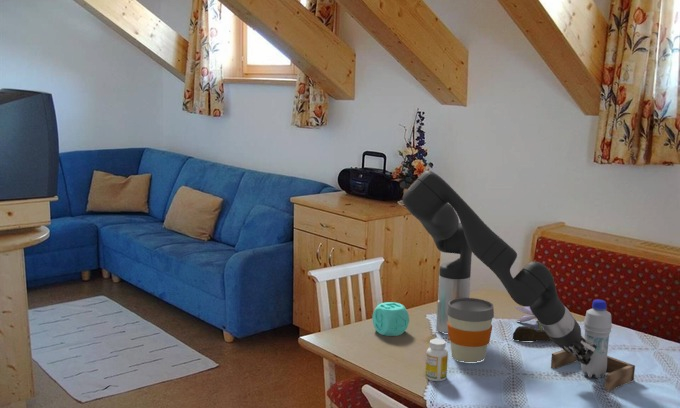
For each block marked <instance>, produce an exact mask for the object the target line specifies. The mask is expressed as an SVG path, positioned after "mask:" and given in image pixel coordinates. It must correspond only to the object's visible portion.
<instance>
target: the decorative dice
mask: <svg viewBox="0 0 680 408" xmlns="http://www.w3.org/2000/svg"><path fill="white" fill-rule="evenodd" d="M371 320H372V324H373V327H374V329H375V330H376V332H377V333H378V334H379V335H382V336H388V337H396V336H400V335H402V334H403V333H405V332H406V330H407V329H408V327H409V323H410V315H409V312H408V310H407V308H406V307H405V305H404V304H401V303H400V302H393V301H391V302H390V301H389V302H388V301H386V302H382V303H379V304H378V305H377V306H376V307H375V308H374V311H373V312H372V319H371Z"/></svg>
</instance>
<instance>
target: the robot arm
mask: <svg viewBox="0 0 680 408" xmlns="http://www.w3.org/2000/svg"><path fill="white" fill-rule="evenodd" d="M402 203H403V205H404V207H405V208H406V210H407V211H408V212H409V213H410V214H411V215H412V216H413V217H415V218H416V219H417V220H418V221H419V223H421V225H422V226H423V228H424V230H425V231H426V232H427V233H428V234H429V235H430V236H431V238H432V239H433V241H434V244H435V247H436V248H437V249H438V251H439V252H441V253H446V254H454V255H455V254H457V255H459V258H457V259H455V260H453V261H448V262H444V263H442V264H441V265H439V271H438V275H439V276H438V296H437V298H438V300H437V302H436V326H435V328H436V329H435V331H441V332H444V333H448V325H447V322H448V321H449V319H448V314H447V308H448V302H449V301H450V300H452V299H457V298H471V296H470V292H471V273H472V272H471V270H472V255H474V256H475V257H476V258H477V259H479V261H480V262H482V263H483V264H484V265H485V266H486V267H487V268H489V269H490V270H491V272H493V274H494V275H496V278H498V279H499V281H500V282H501V284H502V285H503V287H504V288H505V290H506V291H507V293H508V295H509V297H510V298H511V299H512V300H513V301H514V302H515V303H516V304H517V305H519V306H520V307H524V306H525V307H528V306H529V307H530V309H531V311H532V313H533V314H534V315H533V316H535V317H536V318H535V319H537V322H538V321H539V322H540V324H541V327H542V330H544V331H545V332H546V333H547V334H548V336H549V337H550V340H551V341H550V342H552V341H553V344H555V345H556V346H558V347H559V348H561V349H562V350H565V351H566V352H567V353H570V352H571V353H572V354H573V355H574V356H576V357H577V358H578V360H579V361H580V362H579V361H578V362H579V363H580V364H581V363H582V364H585V365H587V364H588V363H589V362H590V360H591V358H590V357H591V356H592V354H593V353H594V351H595V349H596V348H597V346H596V345H594V344H592V345H591V344H587V343H586V340H585V339H584V337H583V336H582V330H581V329H582V328H581V326H580V324H579V323H578V321H577V320H576V318H575V317H574V316H573V314H572V313H571V312H570V310H569V309H568V308H567V307H566V306H565V305H564V303H563V302H562V300H560V297H559V296H558V295H559V294H558V291H557V289H556V288H557V287H556V283H555V278H554V275H553V274H552V272H551V271H550V269H549V268H548V267H547V266H546V265H545V264H544V263H542V262H539V261H529V262H528V263H527V264H526V265H524V267H522V269H520V271H519V272H518V273H517V274H516V275H515V276H514V277H513V276H512V274H511V268H512V266H513V264H514V263H515V261H516V260H517V258H518V254H517V252H516V250H515V249H514V248H513V247H511V245H509V244H508V243H507V242H506V241H504V239H502V238H501V237H500V236H499V235H498V234H496V233H495V232H494V231H493V230H492V229H491V228H490V227H489V226H488V224H486V223H485V222H484V221H483V219H482V218H480V216H479V215H478V214H477V213H476V212H475V211H474V210H473V209H472V208H471V206H469V205H468V203H467V202H466V201H465V200H464V199H463V198H462V197H461V196H460V195H459V194H458V193H457V191H456V190H454V189H453V188H452V187H451V185H450V184H449V183H447V182H446V181H445V180H444V179H443V177H441V176H439V175H438V174H437V173H435V172H434V171H431V170H424V171H423V172H422V173H421V174H420V175H419V176H418V177H417V179H415V181H414V182H413V183H412V184H411V185H410V186H409V187H408V189H406V190H405V192H404V193H403V195H402ZM539 322H538V323H539Z"/></svg>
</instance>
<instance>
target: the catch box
mask: <svg viewBox="0 0 680 408" xmlns="http://www.w3.org/2000/svg"><path fill="white" fill-rule="evenodd" d="M575 361H576V362H579V363H581V362H580V361H579V360H578V358H577V357H576V356H574V355H573V354H572V353H571V352H570V353H567V352H566V351H565V350H563V349H562V350H558V351H555V352H552V353H551V359H550V362H551V363H550V368H551V370H552V369H553V370H556V369H558V368H561V367H564V366H568V365H570V364H573V363H576V362H575ZM635 371H636V365H634V364H631V363H629V362H626V361H623V360H620V359H617V358H616V357H615V358H614V357H612V356H609V355H607V370H606V374H605V382H604V390H605V391H607V392H610V391H612V390H614V389H616V388H619V387H621V386H625V385H627V384H629V383H631V382H634V380H635Z"/></svg>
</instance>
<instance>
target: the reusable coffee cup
mask: <svg viewBox="0 0 680 408" xmlns="http://www.w3.org/2000/svg"><path fill="white" fill-rule="evenodd" d="M447 314H448V319H449V321H448V322H447V325H448V336H447V337H448V340H449V342H450V351H451V352H450V353H451V358H452V357H453V358H454V359H456V360H458V361H457V362H459V361H464V362H477V361H481V360H483V359H484V358H485V359H486V353H487V350H488V349H487V348H488V344H489V343H490V342H491V341H490V340H491V338H492V337H491V336H492V330H493V323H492V322H493V318H494V317H495V315H494V314H495V313H494V304H493V303H492V302H490V301H488V300H486V299H485V300H484V299H481V298H475V297H469V298H457V299H452V300H450V301H449V302H448V308H447ZM453 358H452V359H453ZM454 359H453V360H454ZM456 360H455V361H456Z"/></svg>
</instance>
